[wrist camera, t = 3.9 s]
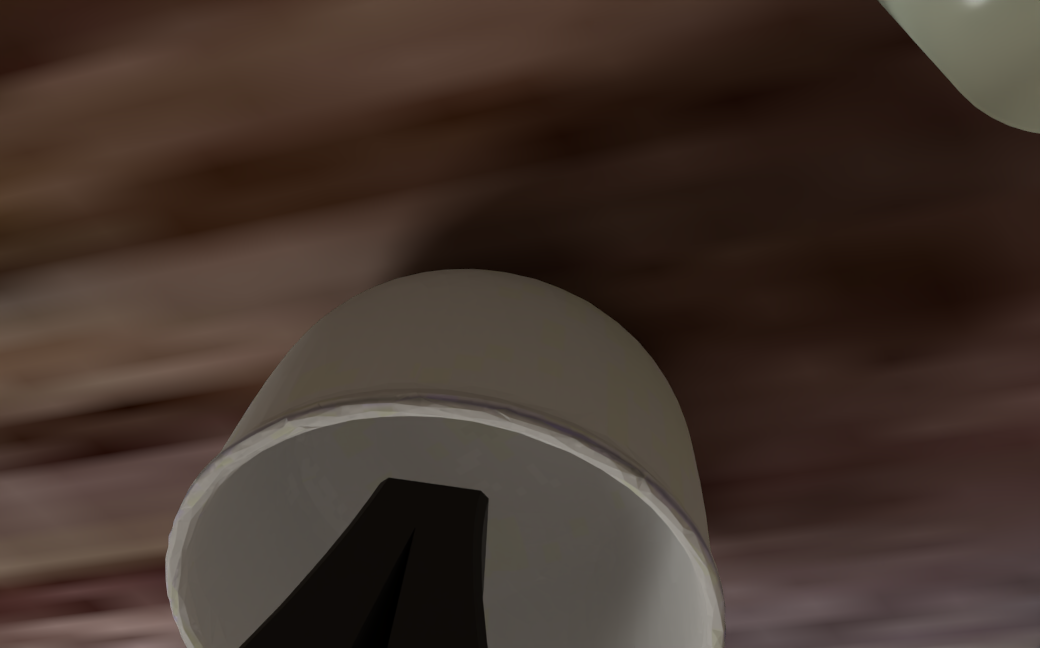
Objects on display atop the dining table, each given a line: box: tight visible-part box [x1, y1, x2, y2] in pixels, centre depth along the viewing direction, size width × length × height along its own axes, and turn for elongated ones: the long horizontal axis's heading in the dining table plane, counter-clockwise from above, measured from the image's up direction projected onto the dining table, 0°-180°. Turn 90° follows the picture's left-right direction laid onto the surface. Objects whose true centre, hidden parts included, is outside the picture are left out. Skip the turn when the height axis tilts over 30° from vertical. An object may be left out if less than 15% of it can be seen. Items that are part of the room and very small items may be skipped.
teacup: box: [166, 269, 726, 648], centre depth 21 cm, size 14×11×8 cm
